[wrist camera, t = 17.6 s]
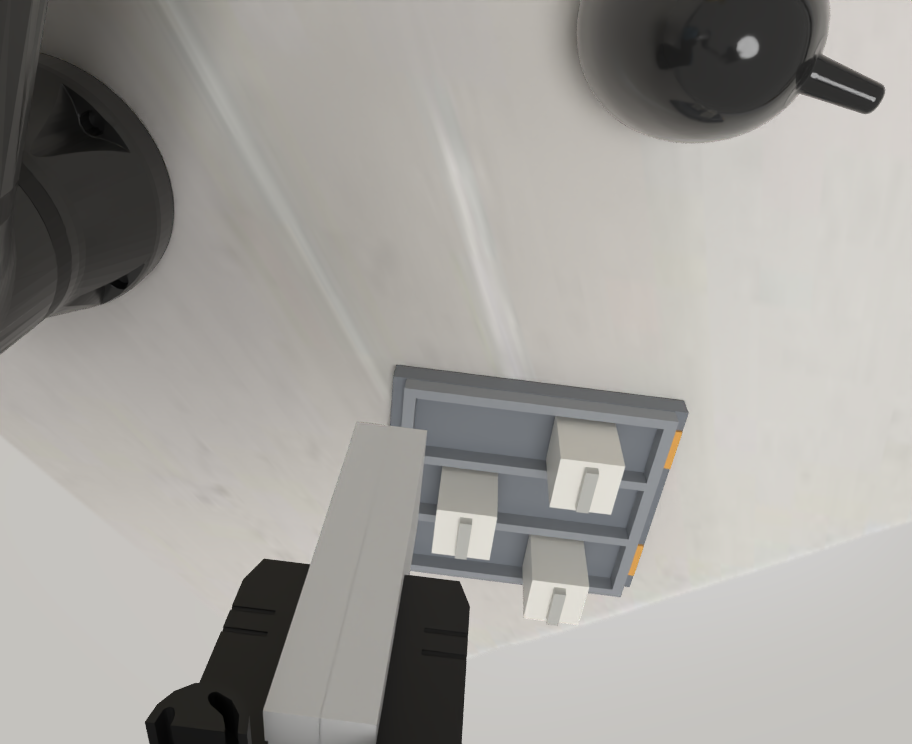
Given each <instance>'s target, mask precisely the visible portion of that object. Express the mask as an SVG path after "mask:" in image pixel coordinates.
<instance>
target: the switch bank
mask: <svg viewBox="0 0 912 744" xmlns="http://www.w3.org/2000/svg"><path fill="white" fill-rule="evenodd" d="M555 416H561V417H569V418H577V419H585V420H593V421H601V422H610V423H616V428H617V432H618V437H619V441H620V445H621V450H622V454H623V459H624V463H625V469H624V473H623V476H622V479H621V483H620V486H619V490H618V493H617V496H616V500H615V503H614V506H613V510H612V513H611V515H608V514H600V513H592V512H589V514H588V513H580V512H576V510H568V509H560V508H552V507H549V494H548V480H547V466H546V457H547V452H548V448H549V443H550V438H551V434H552V429H553V425H554V420H555ZM687 416H688V410H687V408H686V405H685V402H684V401H682V400H674V399H666V398H658V397H650V396H642V395H634V394H626V393H618V392H610V391H602V390H594V389H586V388H578V387H569V386H561V385H553V384H545V383H537V382H529V381H521V380H513V379H505V378H497V377H489V376H481V375H473V374H465V373H457V372H449V371H441V370H433V369H425V368H417V367H409V366H401V365H396V369H395V373H394V377H393V391H392V406H391V420H390V426H396V427H404V428H412V429H420V430H427V437H426V447H425V457H424V466H423V476H422V486H421V496H420V505H419V515H418V525H417V531H416V537H415V544H414V550H413V556H412V562H411V568H410V571H415V572H423V573H431V574H439V575H447V576H455V577H463V578H471V579H479V580H487V581H495V582H503V583H511V584H519V585H523V572H522V566H523V562H524V557H525V552H526V548H527V543H528V539H529V534H531V535H539V536H547V537H556V538H564V539H572V540H580V541H584V548H585V556H586V564H587V572H588V580H589V591H588V593H592V594H600V595H608V596H616V597H621V594H622V591H623V588H624V586H625V587H630V584H631V581H632V578H633V576H634V574H635V571H636V568H637V565H638V562H639V559H640V556H641V553H642V550H643V547H644V543H645V540H646V537H647V534H648V531H649V528H650V525H651V522H652V519H653V516H654V514H655V511H656V508H657V505H658V502H659V499H660V496H661V493H662V490H663V487H664V484H665V481H666V478H667V475H668V472H669V469H670V468H671V465H672V462H673V459H674V456H675V453H676V450H677V447H678V444H679V441H680V438H681V435H682V431H683V428H684V425H685V422H686V419H687ZM442 466H446V467H454V468H462V469H470V470H478V471H486V472H494V473H498V507H497V521H496V527H495V532H494V538H493V543H492V549H491V554H490V560H483V559H475V558H467V559H466V560H464V559H456V558H455V556H451V555H443V554H435V553H432V545H433V537H434V528H435V520H436V512H437V504H438V496H439V489H440V481H441V473H442Z"/></svg>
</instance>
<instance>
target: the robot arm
mask: <svg viewBox="0 0 912 744" xmlns="http://www.w3.org/2000/svg"><path fill="white" fill-rule="evenodd" d="M47 4H48V0H0V354H2V353H3V352H4V351H5V350H7V349H8V348H9V347H10V346H12V345H13V344H14V343H15V342H17V341H18V340H19V339H20V338H22V337H23V336H24V335H25V334H27V333H28V332H29V331H30V330H32V329H33V328H34V327H35V326H36V325H37V324H39V323H40V322H41V321H43V320H44V319H45V318H47V317H51V316H56V315H60V314H64V313H69V312H73V311H77V310H82V309H86V308H90V307H95V306H98V305H102V304H104V303H107V302H110V301H112V300H114V299H116V298H118V297H120V296H122V295H123V294H125V293H126V292H128V291H129V290H130V289H132V288H133V287H134V286H135V285H136V284H138V283H139V282H140V281H141V280H142V279H143V278H144V277H145V276H147V275H148V274H149V273H150V272H151V271H152V270H153V268H154V267H155V266H156V265H157V263H158V262H159V261H160V259H161V257H162V256H163V254H164V252H165V250H166V248H167V245H168V242H169V239H170V235H171V231H172V225H173V197H172V190H171V186H170V181H169V177H168V174H167V171H166V168H165V165H164V162H163V160H162V158H161V155H160V153H159V151H158V149H157V147H156V145H155V143H154V142H153V140H152V138H151V137H150V135H149V133H148V132H147V130H146V129H145V127H144V126H143V124H142V123H141V122H140V121H139V119H138V118H137V117H136V115H135V114H134V113H133V112H132V111H131V110H130V108H129V107H128V106H127V105H126V104H125V103H124V102H123V101H122V100H121V99H120V98H119V97H118V96H117V95H116V94H114V93H113V92H112V91H111V90H110V89H109V88H107V87H106V86H105V85H104V84H102V83H101V82H100V81H98V80H97V79H95V78H94V77H92V76H91V75H89V74H88V73H86V72H85V71H83V70H81V69H79V68H77V67H76V66H74V65H71V64H69V63H67V62H65V61H63V60H60V59H58V58H55V57H52V56H49V55H46V54H42V53H40V47H41V41H42V35H43V28H44V22H45V16H46V10H47ZM426 437H427V430H420V429H412V428H404V427H396V426H388V425H380V424H372V423H364V422H357V423H356V426H355V429H354V432H353V435H352V438H351V441H350V444H349V447H348V450H347V454H346V457H345V460H344V463H343V466H342V469H341V472H340V475H339V478H338V481H337V484H336V487H335V490H334V494H333V497H332V500H331V503H330V506H329V509H328V512H327V515H326V518H325V521H324V524H323V527H322V530H321V534H320V537H319V540H318V543H317V546H316V549H315V552H314V555H313V558H312V561H311V564H302V563H294V562H286V561H278V560H270V559H263V560H262V561H261V562H260V563H259V564H258V565H257V566H256V567H255V568H254V569H253V570H252V571H251V572H250V573H249V574H248V575H247V576H246V577H245V578H244V579H243V581H242V584H241V586H240V588H239V591H238V593H237V595H236V598H235V600H234V602H233V605H232V610H230V612H229V614H228V617H227V619H226V621H225V624H224V626H223V631H222V632H221V633H220V635H219V638H218V640H217V642H216V645H215V647H214V650H213V652H212V654H211V657H210V659H209V661H208V664H207V666H206V669H205V671H204V673H203V675H202V678H201V680H200V683H194V684H191V685H189V686H186V687H184V688H181V689H179V690H176V691H174V692H173V693H171V694H170V695H169V696H167V697H166V698H165V699H164V700H162V701H161V702H160V703H159V704H157V705H156V707H155V708H154V710H153V711H152V713H151V714H150V715H149V717H148V719H147V720H146V721H145V724H146V729H147V734H148V738H149V743H150V744H462V726H463V708H464V692H465V676H466V657H467V643H468V627H469V610H470V606H469V603H468V601H467V598H466V596H465V593H464V591H463V589H462V586H461V584H460V581H452V580H444V579H436V578H428V577H420V576H412V575H410V568H411V562H412V556H413V550H414V544H415V537H416V531H417V525H418V515H419V505H420V496H421V486H422V476H423V466H424V457H425V447H426Z"/></svg>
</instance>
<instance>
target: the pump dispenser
mask: <svg viewBox="0 0 912 744" xmlns="http://www.w3.org/2000/svg"><path fill="white" fill-rule="evenodd" d="M829 23H830V2H829V0H581V1H580V6H579V11H578V18H577V49H578V55H579V60H580V64H581V68H582V71H583V74H584V76H585V79H586V81H587V83H588V85H589V87H590V89H591V91H592V92H593V94H594V96H595V97H596V99H597V100H598V101H599V102H600V104H601V105H602V106H603V107H604V108H605V109H606V110H607V111H608V112H609V113H610V114H611V115H612V116H613V117H614V118H615V119H617V120H618V121H619V122H621V123H622V124H624V125H625V126H627V127H629V128H631V129H632V130H635V131H637V132H639V133H641V134H644V135H647V136H650V137H653V138H656V139H660V140H664V141H669V142H676V143H708V142H715V141H721V140H726V139H730V138H733V137H737V136H740V135H742V134H745V133H748V132H750V131H752V130H754V129H756V128H758V127H760V126H762V125H764V124H765V123H767V122H769V121H770V120H772V119H773V118H775V117H776V116H777V115H778V114H780V113H781V112H782V111H783V110H784V109H786V108H787V107H788V106H789V105H790V104H791V103H792V102H793V101H794V100H795V98H796V97H797V96H798V95H799V94H802V95H806V96H809V97H812V98H815V99H818V100H822V101H825V102H828V103H831V104H834V105H837V106H840V107H843V108H846V109H849V110H853V111H856V112H859V113H862V114H869V113H871V112H873V111H874V110H875V109H876V108H877V107H878V106H879V104H880V103H881V101H882V99H883V97H884V95H885V87H884V85H882V84H881V83H879V82H877V81H875V80H873V79H871V78H869V77H866V76H864V75H862V74H860V73H858V72H856V71H854V70H852V69H850V68H848V67H846V66H844V65H842V64H840V63H838V62H836V61H834V60H832V59H830V58H828V57H826V56H824V55H823V54H822V53H823V51H824V47H825V44H826V40H827V36H828V31H829Z"/></svg>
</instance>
